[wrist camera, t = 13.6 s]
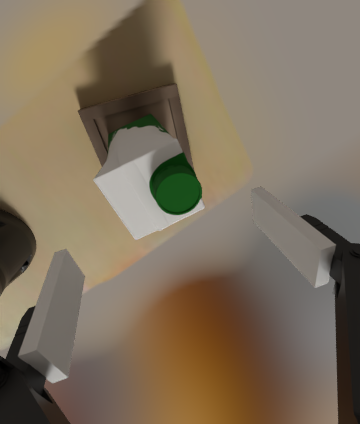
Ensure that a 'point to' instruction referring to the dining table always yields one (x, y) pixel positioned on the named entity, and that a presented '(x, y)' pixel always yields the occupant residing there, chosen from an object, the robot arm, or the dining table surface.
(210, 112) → the dining table surface
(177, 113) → the walnut tray
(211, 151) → the dining table surface
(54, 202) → the dining table surface
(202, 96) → the dining table surface
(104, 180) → the soya milk
